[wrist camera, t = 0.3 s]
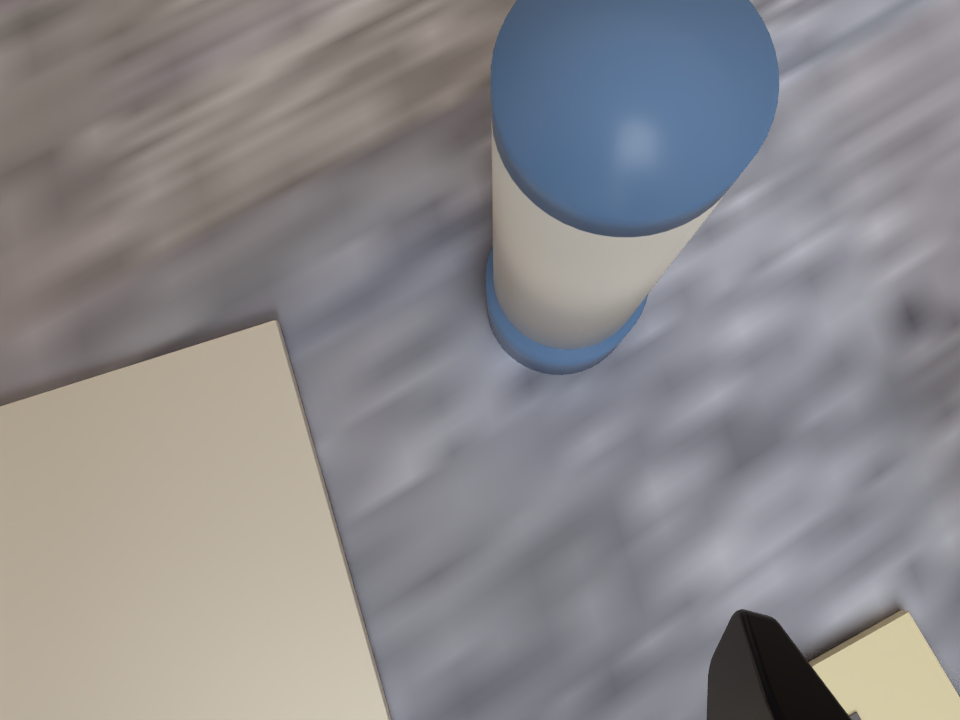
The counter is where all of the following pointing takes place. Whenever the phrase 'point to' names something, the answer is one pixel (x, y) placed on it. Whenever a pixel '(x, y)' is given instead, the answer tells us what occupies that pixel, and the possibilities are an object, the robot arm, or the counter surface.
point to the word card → (889, 674)
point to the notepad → (176, 549)
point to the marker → (612, 158)
